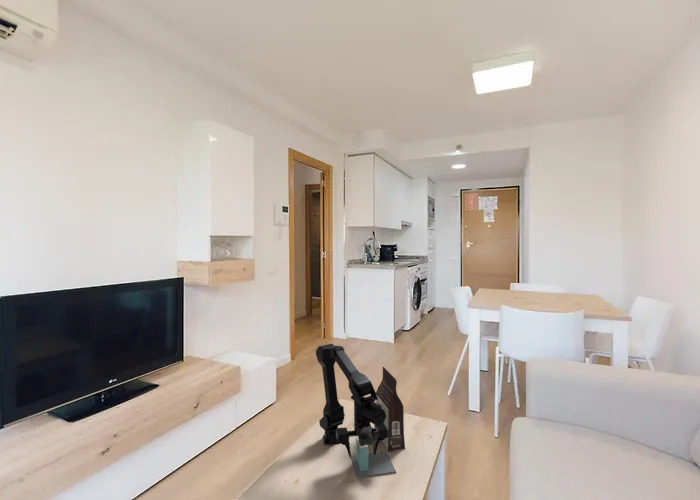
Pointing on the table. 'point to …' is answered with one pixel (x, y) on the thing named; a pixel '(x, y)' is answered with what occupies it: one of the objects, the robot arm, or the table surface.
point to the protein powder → (391, 412)
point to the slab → (361, 455)
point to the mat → (375, 465)
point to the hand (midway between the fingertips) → (362, 455)
